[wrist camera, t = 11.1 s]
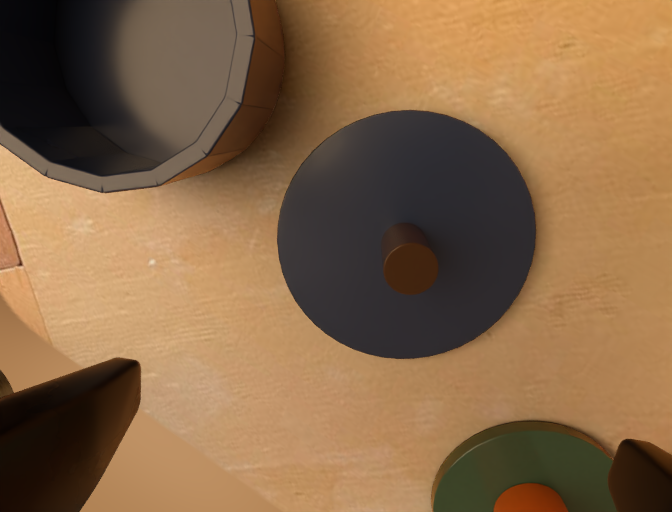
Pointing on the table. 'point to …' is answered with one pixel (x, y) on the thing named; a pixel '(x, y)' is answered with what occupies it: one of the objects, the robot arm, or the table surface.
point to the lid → (406, 234)
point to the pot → (136, 86)
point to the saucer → (524, 468)
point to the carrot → (530, 499)
